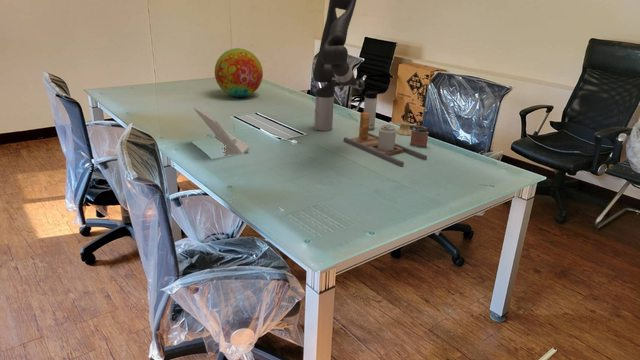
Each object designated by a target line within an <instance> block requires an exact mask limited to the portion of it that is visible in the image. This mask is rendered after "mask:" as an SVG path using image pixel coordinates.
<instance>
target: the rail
mask: <svg viewBox="0 0 640 360" xmlns="http://www.w3.org/2000/svg"><path fill="white" fill-rule="evenodd" d="M368 135H370V136H372V137H375V138H377V139H378V138H379V135H376V134H373V133H370V132H368ZM343 143H347V144H348V145H351V146H353V147H355V148H357V149H360V150H362V151H363V152H367V153H369V154H371V155H373V156H376V157H377V158H380V159H382V160H385V161H387V162H389V163H392V164H394V165H396V166H399V167H404V165H405V162H404V161H403V160H401V159H397V158H396V157H393V156H392V155H391V156H389V155H386V154H384V153H382V152H379V151H377V150H375V149H372V148H370V147H368V146H365V145H363V144H361V143H358V142H356V141H354V140H351V138H349V137H347V136H346V137H343ZM395 146H397V147H400V148H402V149H404V152H403V153H405V154H408V155H410V156H413V157H415V158H418V159H420V160H423V161H427V160H428V155H426V154H424V153H421V152H418V151H416V150H413V149H412V148H409V147H406V146H403V145H401V144H398V143H396V142H395Z"/></svg>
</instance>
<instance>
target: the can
mask: <svg viewBox="0 0 640 360" xmlns="http://www.w3.org/2000/svg"><path fill="white" fill-rule="evenodd" d="M396 132H397V129H396V127H395V126H394V125H390V124H383V125H381V126H380V128H379V130H378V137H379V138H378V148H377V149H378V150H381V151H383V152H388V151H392V150H394V146H395V143H396V137H397V135H396V134H397V133H396Z"/></svg>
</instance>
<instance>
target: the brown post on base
mask: <svg viewBox="0 0 640 360" xmlns="http://www.w3.org/2000/svg"><path fill="white" fill-rule="evenodd" d="M369 117H370V114H369V113H367V112H364V111H363V112H360V118H359V119H360V120H359V132H358V136H357V137H351V138H350V139H351V140H354V141H356V142H358V143H361V144H363V145H365V146H368V147H370V148H372V149H375V150H377V151H379V152H382V153H384V154H386V155H389V156H391V157H392V156H394V155H395V156H396V155H398V154H402V153H403V154H404V153H405V152H404V149H402V148H400V147H397V146H394V150H392V151H388V152H383V151H381V150H378V139H377V138H375V137H372V136H370V135H368V133H369V130H368V129H369Z"/></svg>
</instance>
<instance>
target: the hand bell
mask: <svg viewBox="0 0 640 360" xmlns="http://www.w3.org/2000/svg"><path fill="white" fill-rule="evenodd" d="M403 109H404V118H403V119H404V120H403V121H402V122H401V123H400V126H399V129H398V130H396V134H398V135H400V136H411V134H412V132H411V130H412V129H411V124H410V122H409V121H408V120H409V119H408V116H409V113H410V109H411V107H410V103H409V102H406V103H405V106H404V108H403Z"/></svg>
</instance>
